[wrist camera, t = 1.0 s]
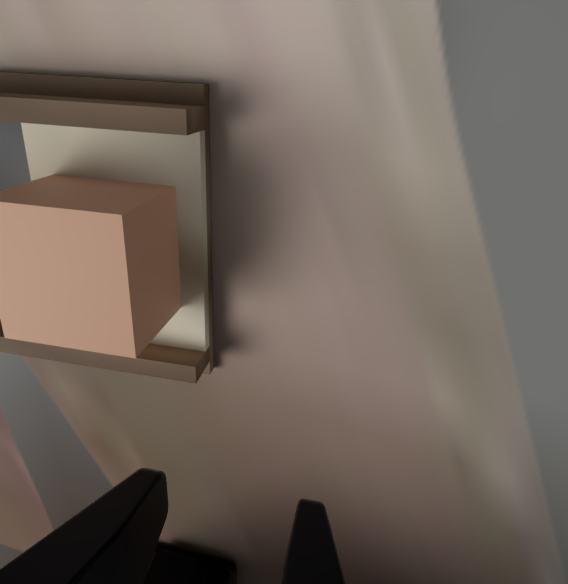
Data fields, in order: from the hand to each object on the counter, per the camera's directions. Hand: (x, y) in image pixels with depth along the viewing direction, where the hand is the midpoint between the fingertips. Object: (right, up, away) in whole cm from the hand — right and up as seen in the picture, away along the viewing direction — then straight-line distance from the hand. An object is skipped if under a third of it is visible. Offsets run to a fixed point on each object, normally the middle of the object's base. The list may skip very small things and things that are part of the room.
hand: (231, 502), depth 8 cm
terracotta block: (-6, +5, +11) cm, 14 cm away
